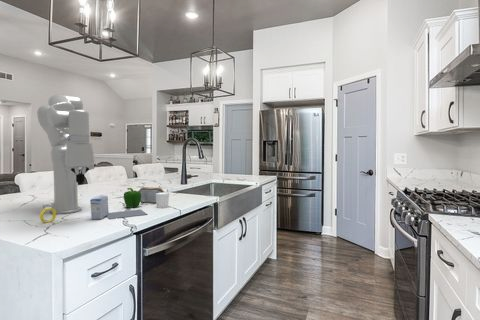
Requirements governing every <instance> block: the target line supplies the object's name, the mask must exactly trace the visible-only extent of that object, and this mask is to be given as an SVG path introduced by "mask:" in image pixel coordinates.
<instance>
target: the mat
mask: <svg viewBox="0 0 480 320" xmlns="http://www.w3.org/2000/svg"><path fill="white" fill-rule="evenodd" d="M140 216H148V213H147V212H145V211H144V210H143V209H132V210H123V211H114V212H109V214H108V215H106V216H105V217H107V219H108V220H116V218H117V219H123V218H132V217H140Z"/></svg>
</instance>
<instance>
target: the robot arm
mask: <svg viewBox="0 0 480 320" xmlns="http://www.w3.org/2000/svg"><path fill="white" fill-rule="evenodd" d="M36 112H37V113H36V115H37V121H38V123H39V125H40V127H41V129H43V131H44V132H45V133H46V135H47V138H48V141H49V143H50V147H51V150H50V157H51V162H52V169H53V170H52V171H53V193H54V194H53V195H54V197H53V199H54V201H53V202H51V203H50V204H42V209H43V210H44V208H46V207H52V209H54V210H55V211H56V215H57V214H58V215H62V214H71V213H77V212H80V211H82V207H81V206H79V203H78V201H79V200H78V198H79V197H78V193H79V192H78V185H84V183H85V179H86V177H85V174H86V173H87V172H89V171H90V170H95V159H94V158H95V156H94V147H93V143H91V142H90V117H89V112H88V111H87V110H85V109H84V103H83V101H82V99H81V98H80V97H77V96H75V95H66V94H65V95H64V94H54V95H51V96H50V97H49V98H48V104H44V105H41V106H39V107H38V109H37V111H36ZM67 130H68V131H67ZM79 168H81V172H79ZM50 213H51V214H53V212H52V210H50Z"/></svg>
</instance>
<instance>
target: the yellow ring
mask: <svg viewBox="0 0 480 320" xmlns="http://www.w3.org/2000/svg"><path fill="white" fill-rule="evenodd" d="M51 210H52V212H53V213H52V217H51V219H49V220H45V219H44V214H45V212H47V211H51ZM56 217H57V214H56V211H55V210H54V209H52V207H46V208H44V209H43V210H41V212H40V214H39V219H40V221H41V222H42V223H43V224H47V223H51V222H53V221H54V220H55V219H56Z"/></svg>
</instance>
